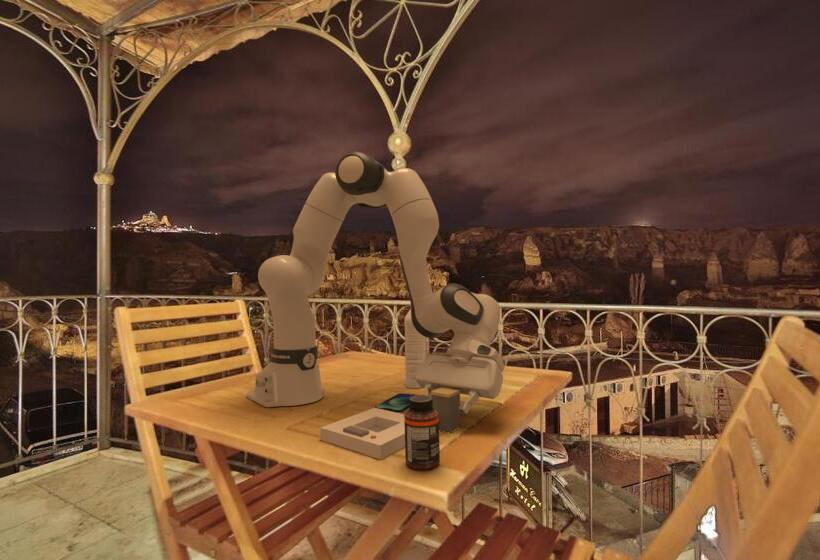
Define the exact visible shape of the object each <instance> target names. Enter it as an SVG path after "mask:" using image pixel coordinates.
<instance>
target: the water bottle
mask: <svg viewBox="0 0 820 560" xmlns="http://www.w3.org/2000/svg"><path fill="white" fill-rule="evenodd" d="M409 308H410V309H409V310H408V312H407V313H406V315H405V317H404V322H403V323H404V351H405V352H404V358H405V359H404V364H405V365H404V367H405V368H404V370H405V387H406V388H409V389H423V388H424V387H421V386H420V385H419V384H418V383H417V381H416V380H415V374H416V372H417V370H418V368H419V367H420V365H421V364H422V362H423V361H424V359H425V358H426V356H427V337H425V336H423V335H421V334H420V333H419V332H418V331H417V330H416V329H415V327H414V325H413V323H412V320H411V305H410V307H409ZM424 389H425V388H424Z"/></svg>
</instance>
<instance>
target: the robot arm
mask: <svg viewBox="0 0 820 560" xmlns="http://www.w3.org/2000/svg"><path fill="white" fill-rule="evenodd" d="M316 182H317V183H316V184H315V185H314V187H313V189H312V190H311V192H310V193H309V195H308V197H307V200H306V201H305V203H304V205H303V207H302V209H301V211H300V214H299V215H298V217H297V220H296V222H295V224H294V226H293V228H292V229H293V230H292V233H293V242H292V246H291V250H290V254H289V255H285V254H281V255H275V256H273V257H269V258H268V259H266V260H264V262H262V263H261V265H260V267H259V269H258V273H257V278H258V279H257V280H258V283H259V286H260V287H261V289H262V290H263V291H264V292H265V294H266V297H267V300H268V303H269V307H270V313H271V315H272V323H273V324H272V325H273V348H272V349H269V350H268V355H270V358H269V363H268V364H267V365H266V366H264V367H263V369H261V371H259V372H258V373H257V374H256V376H255V384H254V386H255V387H254V388H255V389H253V390H251V391H249V392H247V393H246V395H245V396H246V397H245V398H248V399H249V400H251V401H253V402H255V403H257V404H258V405H261V406H262V407H265V408H273V407H274V408H275V407H291V406H292V407H293V406H302V405H306V404H312V403H315V402H318V401H320V400H321V399H322V398H323V397H324V395H323V394H324V393H325V388H324V387H322V379H321V372H320V371H321V370H320V365H319V363H318V362H317V359H319V355H318V354H319V350H318V346H317V345H316V344H317V341H316V330H317V329H316V317H315V314H314V313H313V311H312V308H311V305H310V300H309V295H311V294H312V295H313V294H314V293H316V292H317V291H318V290H319V289H320V288H321V287H322V286H323V283H324V281H325V270H326V266H327V263H328V258H329V254H330V252H331V248H332V247H333V243H334V241H335V239H336V237H337V235H338V232H339V231H340V229H341V227H342V224H343V222H344V220H345V219H346V217H347V216H346V215H347V214H348V212H349V210H350V209H351V208H352V206H354V205H356V204H357V205H358V206H359V207H361V208H371V209H385V208H388V211H389V213H390V216H391V219H392V222H393V226H394V228H395V233H396V237H397V242H398V243H397V244H398V255H399V262H400V266H401V271H402V273H403V278H404V281H405V282H404V283H405V284H406V288H407V293H408V296H409V297H408V298H409V301H410V306H411V307H410V309H411V320H412V323H413V325H414V327H415V329H416V330H417V331H418V332H419V333H420V334H421V335H423V336H425V337H426V339H427V338H428V339H437V338H440V337H441V336H442V335H444V334H445V333H447V332H448V331H450V330H452V331H453V333H454V334H453V337H452V340H451V342H450V344H449V346H448V348H447V351H445V352H444V351H442V352H440V351H433V352H431V353H429V354H426V358H425V359H424V361H423V362H422V364H421V365H420V367H419V368H418V370H417V372H416V374H415V380H416V381H417V383H418V384H419V385H420V386H421V387H424V391H425V392H424V393H425V394H424V395H427V396H430V397H431V391H433V390H436V389H438V388H441V387H446V388H452V389H458V390H460V395H467V396H468V397H467V399H465V400H464V401H462V400H460V406H459V410H460V413H463V414H469V411H470V409H471V407H473V406H474V405H475V404H476V403H478V402H479V399H480V398H484V399H490V400H494V399H496V398H498V396H499V395H500V392H501V390H502V386H503V379H504V374H503V372H504V370H505V367H506V366H505V363H504V361H503V359H502V357H501V356H500V354H499V353H498V351H497V349H496V348H494V347H493V346H490V345H491V342H492V341H493V340H494V338H495V336H496V334H497V331H498V328H499V325H500V320H501V314H502V313H501V307H500V304H499V303H498V301H497V300H496V299H495V298H494V297H492V296H490V295H488V294H485V293H474V292H472V291H470V290H469V289H468V288H466V286H463V285H462V284H459V283H454V282H453V283H447V284H446V285H444V286H443V287H440V288H439V289H438V290H436V291H435V292H433V289H432V286H431V282H430V278H429V275H428V271H427V266H426V265H427V256H428V254H429V251H430V248H431V246H432V244H433V242H434V241H435V239H436V236H437V235H438V231H439V229H440V220H439V214H438V211H437V209H436V206H435V204H434V202H433V198H432V197H431V195H430V192H429V191H428V189H427V187H426V185H425V184H424V182H423V180H422V179H421V177H420V176H419V174H418V173H417V172H416V170H414V169H411V168H409V167H402V168H397V169H395V170H393V171H388V170H387V169H386V168H385V167H384V165H383V164H382V163H380V162H378V161H376V159H374V158H373V157H372V156H370V155H368V154H366V153H364V152H360V151H350V152H348V153H345V154H344V155H343V156H342V157H341V158H340V159H339V160H338V162H337V164H336V167H335V171H334V172H327V173H325V174H323V175H322V176H321V177H320V178H319V179H318V181H316Z"/></svg>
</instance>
